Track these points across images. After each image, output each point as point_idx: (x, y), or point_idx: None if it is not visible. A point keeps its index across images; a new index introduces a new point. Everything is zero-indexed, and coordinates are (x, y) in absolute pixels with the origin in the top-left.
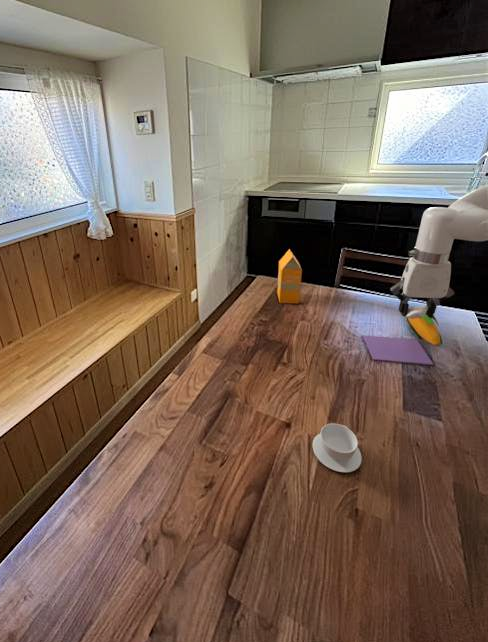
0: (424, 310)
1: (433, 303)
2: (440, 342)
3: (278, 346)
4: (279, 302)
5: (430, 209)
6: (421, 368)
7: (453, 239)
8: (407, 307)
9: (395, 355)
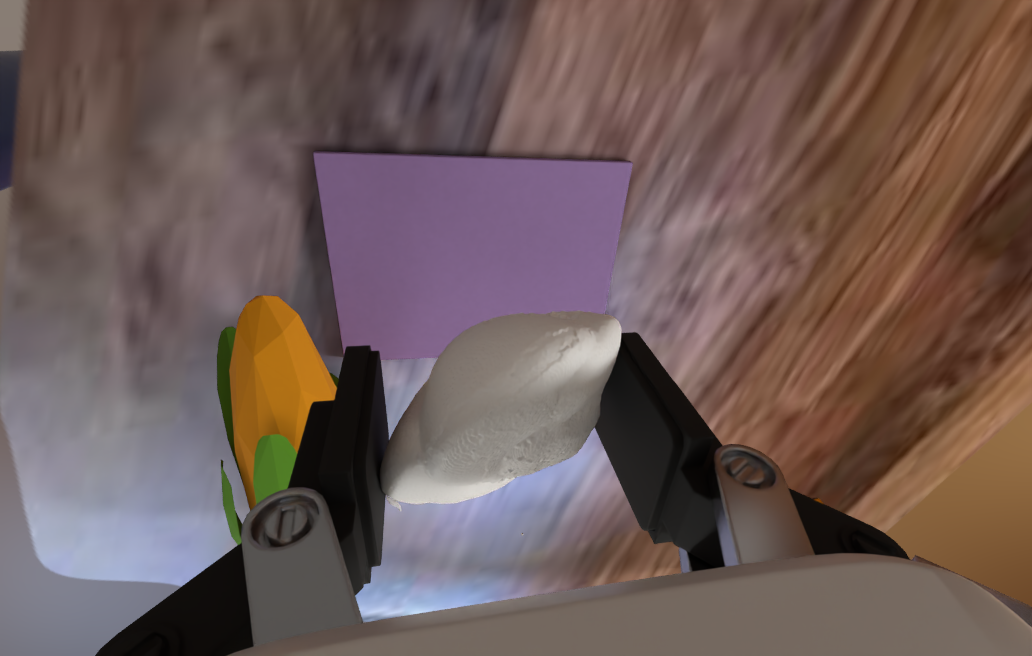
0: (484, 376)
1: (336, 522)
2: (229, 348)
3: (1002, 214)
4: (818, 501)
5: None
6: (391, 111)
7: None
8: (674, 406)
9: (503, 210)
